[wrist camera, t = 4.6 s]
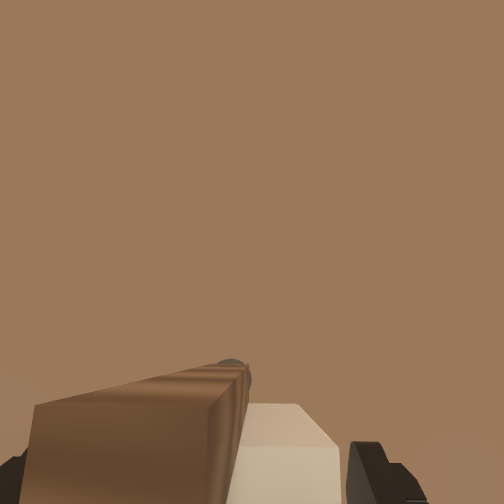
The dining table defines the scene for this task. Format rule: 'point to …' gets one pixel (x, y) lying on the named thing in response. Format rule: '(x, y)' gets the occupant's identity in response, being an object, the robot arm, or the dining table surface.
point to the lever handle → (141, 441)
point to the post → (284, 459)
